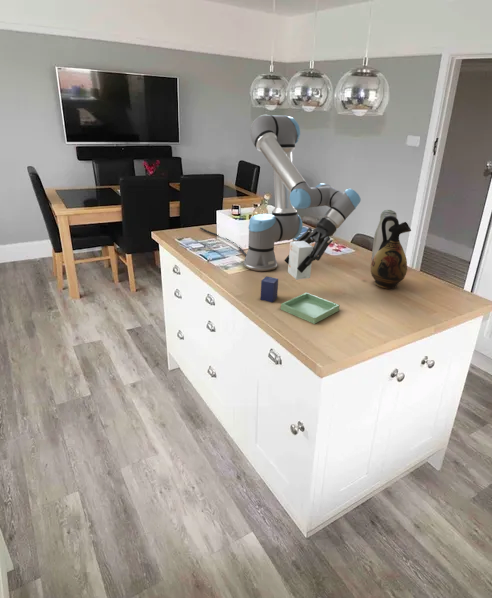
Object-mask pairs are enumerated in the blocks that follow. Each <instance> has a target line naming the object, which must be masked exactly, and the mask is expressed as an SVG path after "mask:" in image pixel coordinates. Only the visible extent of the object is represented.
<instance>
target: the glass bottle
mask: <svg viewBox="0 0 492 598" xmlns="http://www.w3.org/2000/svg"><path fill="white" fill-rule="evenodd" d="M387 216H394V217H396V218H397V219H398V215H397V212H396V211H395V210H392V209H385V210H383V211H382V212H381V213H380V217H379V221H378V225H377V227H376V230H375V231H374V236H373V244H372V250H371V261H372V260H373V258H374V256H375V254H376V253H377V251H378V250H379V248H380V245H381V244H382V242H383V236H382V228H381V227H382V221H383V219H384V218H385V217H387ZM393 225H394V222H393V221H387V222H386V235H387V240H388V239H389V238H390V236H391V234H392V233H391V232H389V228H390V227H391V226H393Z"/></svg>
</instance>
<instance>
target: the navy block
mask: <svg viewBox="0 0 492 598" xmlns="http://www.w3.org/2000/svg"><path fill="white" fill-rule="evenodd" d="M278 290H279V278H276V277H271V276H265V277H264V278H262V279H261V280H260V300H261V301H264V302H269V303H273V302H275V300H276V299H278Z"/></svg>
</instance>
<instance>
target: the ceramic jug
mask: <svg viewBox="0 0 492 598" xmlns="http://www.w3.org/2000/svg"><path fill="white" fill-rule="evenodd" d="M387 221H393V222H394V225H393V226H391V227H390V228H389V232H391V233H392V234H391V236H390V238H389V239H388V240H387V235H386V222H387ZM381 228H382V236H383V242H382V244H381V245H380V248H379V250H378V251H377V253H376V254H375V256H374V258H373V260H372V259H371V262H370V266H369V267H370V268H369V269H370V274H371V277H372V278H373V279H374V285H376V286H377V287H378V288H382V289H385V290H394V289H397V285H398V284H400V283H401V282H402V281H404V279H405V277H406V275H407V271H408V260H407V255H406V253H405V250H404V248H403V246H402V243H401V241H400V235H401V234H404V233H410V232H412V229H411V227H410V226H409V223H407V221H403V222H401V223H400V222H399V219H398V217H397V218H396V217H394V216H387V217H385V218H384V219H383V221H382V227H381Z"/></svg>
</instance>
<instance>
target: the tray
mask: <svg viewBox="0 0 492 598" xmlns="http://www.w3.org/2000/svg"><path fill="white" fill-rule="evenodd" d="M280 310H281V311H283V312H285V313H288V314H290V315H292V316H294V317H297V318H299V319H301V320H304V321H306V322H309V323H311V324H313V325H315V324H317V323H319V322H320V321H322V320H325V319H326V318H328V317H331V315H334V314H335V313H338V312H339V311H340V304H338V303H336V302H333V301H331V300H328V299H325V298H323V297H320V296H317V295H315V294H312V293H309V292H304V293H302V294H300V295H298V296H295V297H293V298H290V299H288V300H286V301H284V302H282V303H280Z"/></svg>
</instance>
